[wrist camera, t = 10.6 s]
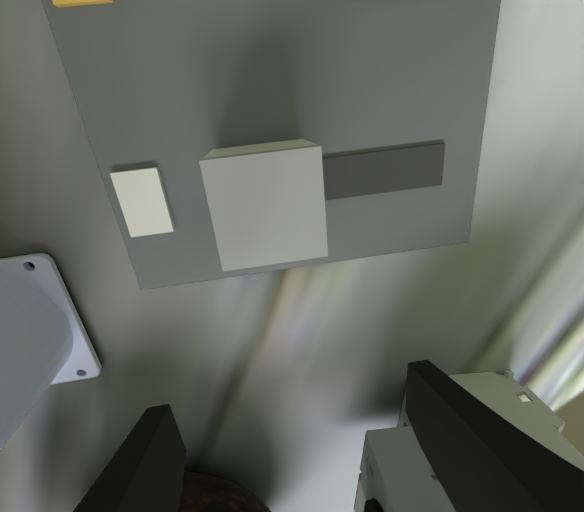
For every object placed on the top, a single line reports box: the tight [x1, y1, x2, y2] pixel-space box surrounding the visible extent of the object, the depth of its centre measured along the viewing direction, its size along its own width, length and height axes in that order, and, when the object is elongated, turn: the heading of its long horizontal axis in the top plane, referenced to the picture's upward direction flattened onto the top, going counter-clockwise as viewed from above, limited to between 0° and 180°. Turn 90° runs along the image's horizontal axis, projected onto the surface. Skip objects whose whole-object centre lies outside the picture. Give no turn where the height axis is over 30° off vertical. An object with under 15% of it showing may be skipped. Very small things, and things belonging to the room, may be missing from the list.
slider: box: [199, 139, 328, 271], centre depth 13 cm, size 4×4×4 cm
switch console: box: [41, 0, 501, 290], centre depth 14 cm, size 18×18×1 cm
